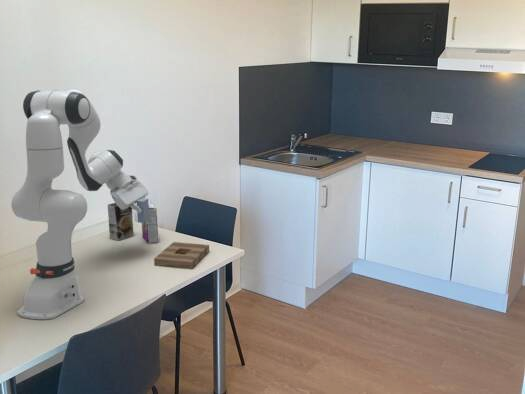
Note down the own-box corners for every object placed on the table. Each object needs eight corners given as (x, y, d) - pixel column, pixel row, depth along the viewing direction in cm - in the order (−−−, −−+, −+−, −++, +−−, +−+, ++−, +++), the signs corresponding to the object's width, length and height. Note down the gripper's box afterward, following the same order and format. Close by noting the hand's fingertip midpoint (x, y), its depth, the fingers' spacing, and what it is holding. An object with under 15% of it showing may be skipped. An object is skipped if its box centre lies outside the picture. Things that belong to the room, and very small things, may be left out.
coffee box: (118, 241, 251) (115, 206, 247) (109, 238, 255) (106, 204, 250) (134, 236, 258) (132, 202, 254) (125, 233, 262) (122, 200, 257)
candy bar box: (141, 236, 257) (139, 202, 252) (152, 235, 259) (150, 201, 254) (147, 244, 247) (145, 208, 243) (158, 242, 249) (157, 207, 245)
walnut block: (192, 269, 219) (191, 262, 218) (154, 265, 223) (154, 258, 222) (209, 251, 238) (209, 244, 237) (174, 248, 242) (173, 241, 241)
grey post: (144, 222, 228) (143, 201, 226) (137, 222, 229) (136, 201, 226) (149, 219, 232) (148, 198, 230) (142, 219, 233) (141, 198, 231)
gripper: (113, 186, 218) (137, 212, 218) (136, 174, 237) (159, 198, 237) (103, 196, 220) (127, 222, 221) (128, 184, 239) (150, 208, 240)
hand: (144, 209), depth 229 cm, fingers closed on grey post, 4 cm apart
